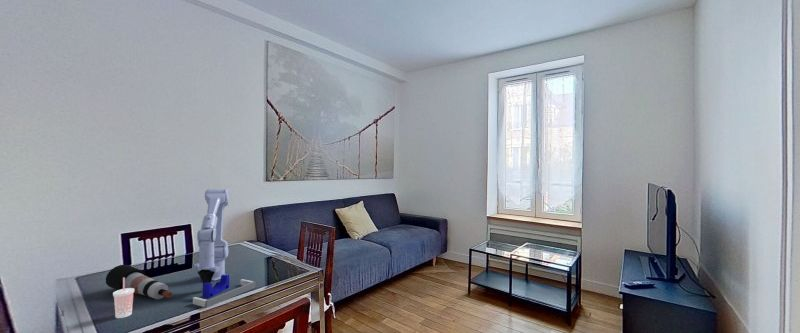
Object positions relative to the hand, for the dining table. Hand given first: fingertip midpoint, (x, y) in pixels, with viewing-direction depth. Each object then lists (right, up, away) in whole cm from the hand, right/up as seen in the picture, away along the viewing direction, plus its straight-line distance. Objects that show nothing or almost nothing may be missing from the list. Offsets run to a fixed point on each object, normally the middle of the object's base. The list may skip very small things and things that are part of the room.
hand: (206, 286), depth 140 cm
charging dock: (+11, -2, -5) cm, 12 cm away
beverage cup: (-17, -2, -23) cm, 29 cm away
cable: (-25, -2, -4) cm, 26 cm away
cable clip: (+5, -2, -2) cm, 6 cm away
